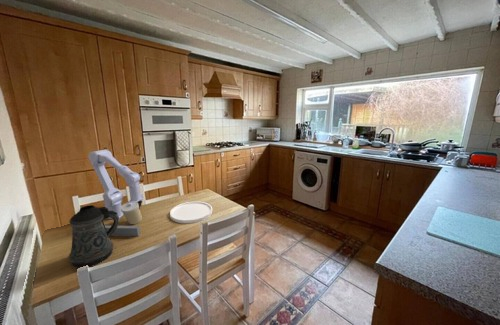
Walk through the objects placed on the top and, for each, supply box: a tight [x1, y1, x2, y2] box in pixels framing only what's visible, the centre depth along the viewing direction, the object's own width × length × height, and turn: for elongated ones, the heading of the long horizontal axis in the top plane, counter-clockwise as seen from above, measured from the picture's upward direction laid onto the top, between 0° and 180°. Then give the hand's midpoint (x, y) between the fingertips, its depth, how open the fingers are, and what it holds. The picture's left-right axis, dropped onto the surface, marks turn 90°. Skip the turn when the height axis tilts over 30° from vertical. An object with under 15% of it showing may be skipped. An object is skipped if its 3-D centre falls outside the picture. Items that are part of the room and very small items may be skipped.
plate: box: [169, 200, 213, 224], centre depth 140 cm, size 28×28×2 cm
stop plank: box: [105, 225, 141, 237], centre depth 113 cm, size 20×2×5 cm, turn 90°
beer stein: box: [68, 204, 120, 269], centre depth 95 cm, size 16×19×25 cm
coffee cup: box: [121, 200, 143, 225], centre depth 124 cm, size 9×9×12 cm
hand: (137, 212), depth 130 cm, fingers closed, pressing on coffee cup
